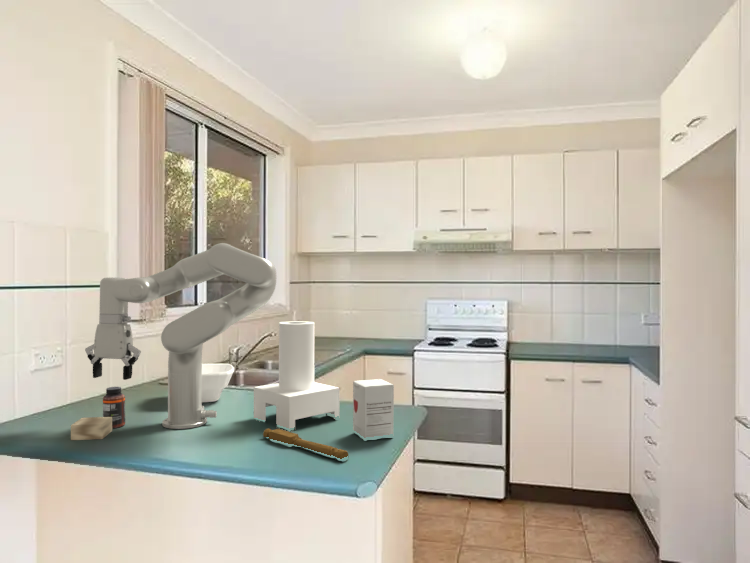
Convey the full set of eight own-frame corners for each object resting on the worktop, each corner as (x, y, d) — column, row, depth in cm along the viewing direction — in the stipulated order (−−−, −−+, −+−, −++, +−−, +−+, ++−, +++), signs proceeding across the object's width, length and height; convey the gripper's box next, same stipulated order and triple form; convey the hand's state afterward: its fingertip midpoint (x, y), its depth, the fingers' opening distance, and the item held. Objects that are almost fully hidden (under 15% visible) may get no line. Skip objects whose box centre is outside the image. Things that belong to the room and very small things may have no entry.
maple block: (112, 430, 157) (112, 416, 157) (102, 439, 149) (102, 424, 149) (82, 431, 156) (82, 417, 156) (70, 440, 148) (70, 425, 148)
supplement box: (351, 433, 156) (352, 380, 156) (380, 429, 160) (381, 378, 159) (363, 442, 148) (364, 386, 147) (394, 438, 151) (394, 383, 151)
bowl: (164, 410, 181) (164, 375, 181) (172, 396, 203) (172, 364, 202) (233, 407, 186) (233, 372, 186) (234, 393, 208) (234, 362, 208)
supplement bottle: (119, 422, 166) (119, 384, 166) (129, 425, 162) (129, 387, 162) (99, 426, 161) (99, 387, 161) (108, 430, 158) (108, 390, 157)
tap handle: (340, 452, 131) (260, 428, 150) (340, 464, 131) (260, 439, 150) (349, 448, 133) (269, 426, 153) (349, 461, 133) (269, 437, 153)
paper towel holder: (302, 409, 184) (302, 319, 183) (339, 420, 170) (339, 322, 170) (253, 419, 170) (254, 322, 170) (289, 431, 157) (289, 326, 157)
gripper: (147, 319, 164) (146, 377, 164) (95, 317, 167) (94, 374, 167) (132, 321, 156) (131, 382, 156) (78, 319, 159) (76, 378, 159)
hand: (112, 378), depth 162 cm, fingers open, 9 cm apart
